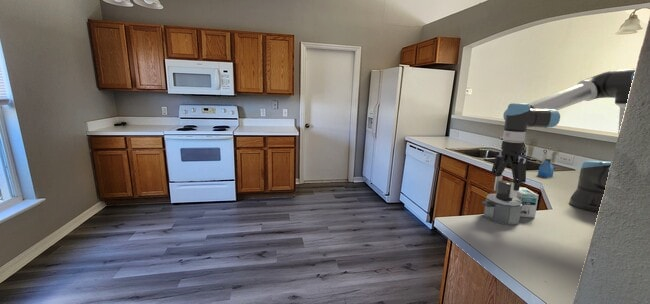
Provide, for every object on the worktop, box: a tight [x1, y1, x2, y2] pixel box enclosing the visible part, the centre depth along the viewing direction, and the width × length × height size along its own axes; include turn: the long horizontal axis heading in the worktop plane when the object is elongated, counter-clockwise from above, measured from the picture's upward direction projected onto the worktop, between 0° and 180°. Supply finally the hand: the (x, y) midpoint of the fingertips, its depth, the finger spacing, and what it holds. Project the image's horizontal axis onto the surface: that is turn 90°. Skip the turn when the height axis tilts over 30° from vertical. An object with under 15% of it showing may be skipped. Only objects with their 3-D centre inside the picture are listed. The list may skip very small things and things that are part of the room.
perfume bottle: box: [537, 158, 555, 179], centre depth 185 cm, size 6×6×12 cm
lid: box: [486, 180, 522, 206], centre depth 116 cm, size 12×12×10 cm
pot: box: [481, 196, 525, 226], centre depth 117 cm, size 18×13×8 cm
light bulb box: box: [517, 186, 540, 219], centre depth 123 cm, size 11×7×11 cm, turn 169°
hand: (504, 193), depth 116 cm, fingers open, 8 cm apart
